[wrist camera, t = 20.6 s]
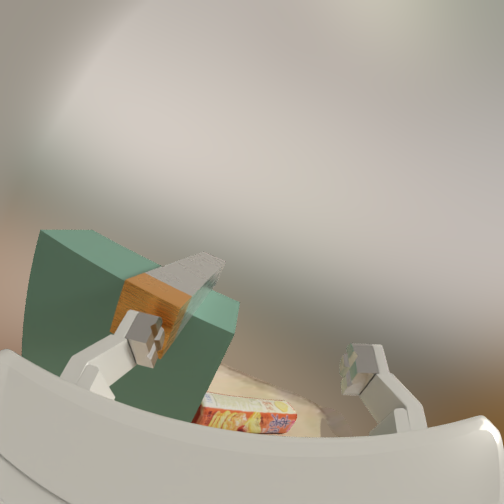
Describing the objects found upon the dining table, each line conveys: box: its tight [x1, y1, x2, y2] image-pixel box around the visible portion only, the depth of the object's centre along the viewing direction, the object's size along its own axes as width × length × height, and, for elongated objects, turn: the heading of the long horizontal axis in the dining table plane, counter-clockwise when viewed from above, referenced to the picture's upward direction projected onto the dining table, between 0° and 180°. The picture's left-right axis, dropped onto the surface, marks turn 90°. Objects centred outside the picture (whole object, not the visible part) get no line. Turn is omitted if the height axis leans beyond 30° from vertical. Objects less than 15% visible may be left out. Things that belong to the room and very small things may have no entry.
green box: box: [22, 230, 240, 423], centre depth 26 cm, size 10×20×26 cm, turn 90°
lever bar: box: [110, 252, 226, 359], centre depth 23 cm, size 22×3×3 cm, turn 0°
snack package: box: [191, 392, 297, 433], centre depth 44 cm, size 21×7×7 cm, turn 114°
